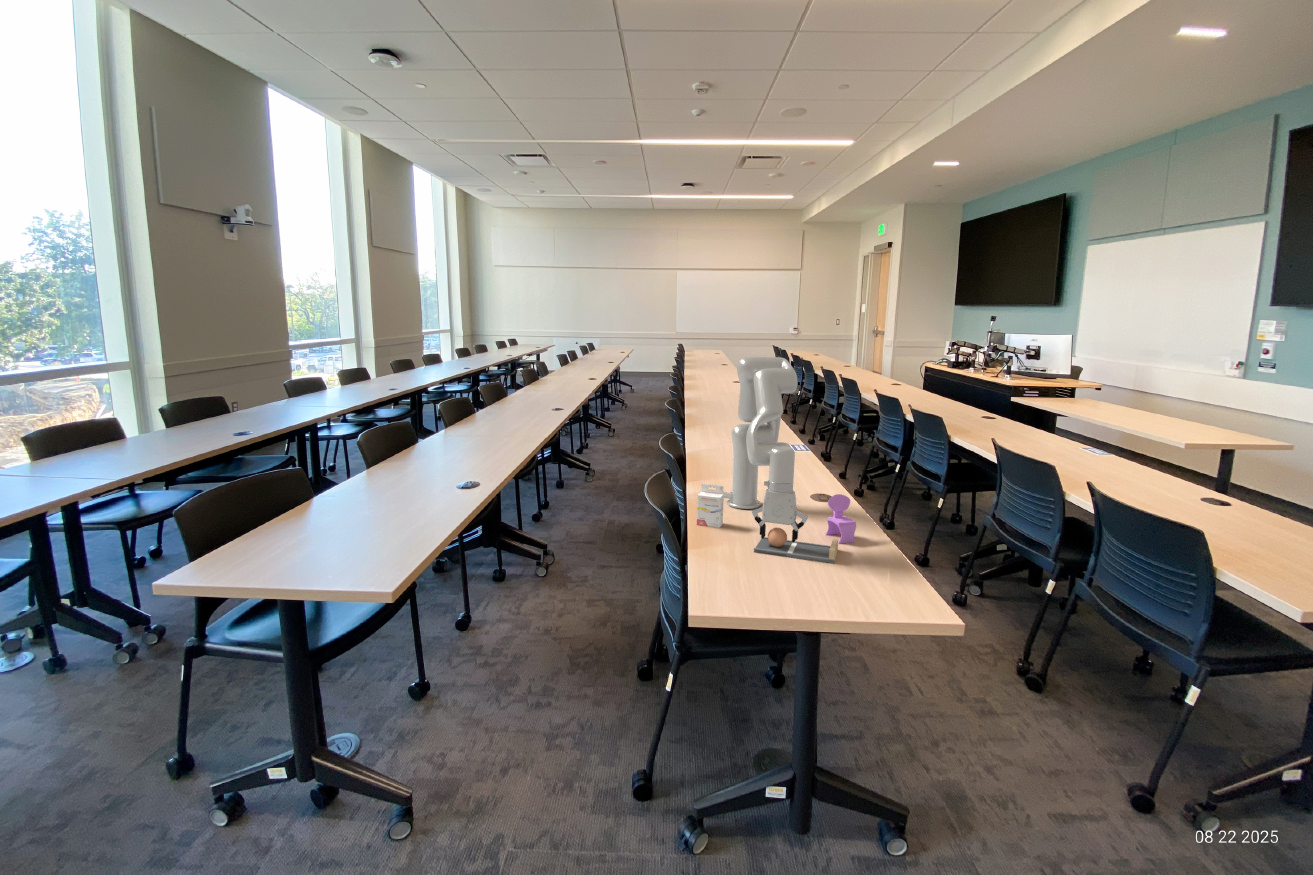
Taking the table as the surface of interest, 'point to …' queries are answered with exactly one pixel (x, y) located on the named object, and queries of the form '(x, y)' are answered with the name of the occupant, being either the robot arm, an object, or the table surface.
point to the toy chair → (840, 519)
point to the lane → (800, 550)
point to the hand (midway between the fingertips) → (778, 539)
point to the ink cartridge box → (710, 506)
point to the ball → (777, 537)
